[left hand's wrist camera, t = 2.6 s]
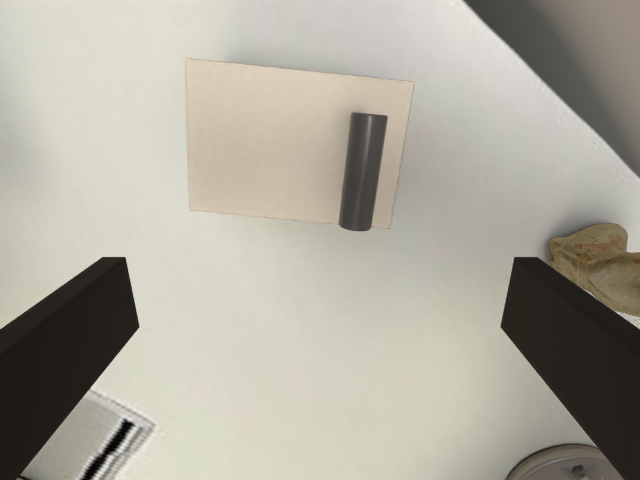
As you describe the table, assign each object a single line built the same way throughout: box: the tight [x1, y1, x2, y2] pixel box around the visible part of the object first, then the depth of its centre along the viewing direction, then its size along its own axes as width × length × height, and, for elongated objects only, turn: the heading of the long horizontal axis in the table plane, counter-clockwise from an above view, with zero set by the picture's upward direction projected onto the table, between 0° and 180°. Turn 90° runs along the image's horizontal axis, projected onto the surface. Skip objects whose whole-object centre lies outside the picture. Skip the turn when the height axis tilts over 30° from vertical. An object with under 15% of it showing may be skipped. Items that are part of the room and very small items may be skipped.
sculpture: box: [549, 223, 640, 317], centre depth 30 cm, size 6×7×15 cm
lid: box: [185, 58, 414, 231], centre depth 21 cm, size 14×10×8 cm
